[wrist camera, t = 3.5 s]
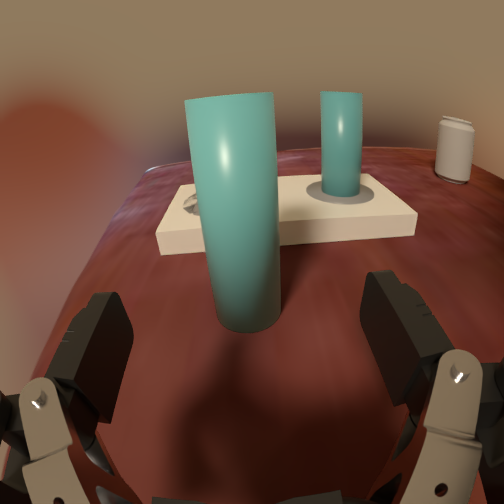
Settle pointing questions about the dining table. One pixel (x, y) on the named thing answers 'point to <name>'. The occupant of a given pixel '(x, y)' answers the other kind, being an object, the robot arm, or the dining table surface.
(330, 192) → the seated pin
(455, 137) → the can
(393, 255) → the dining table surface
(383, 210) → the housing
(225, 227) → the pin
